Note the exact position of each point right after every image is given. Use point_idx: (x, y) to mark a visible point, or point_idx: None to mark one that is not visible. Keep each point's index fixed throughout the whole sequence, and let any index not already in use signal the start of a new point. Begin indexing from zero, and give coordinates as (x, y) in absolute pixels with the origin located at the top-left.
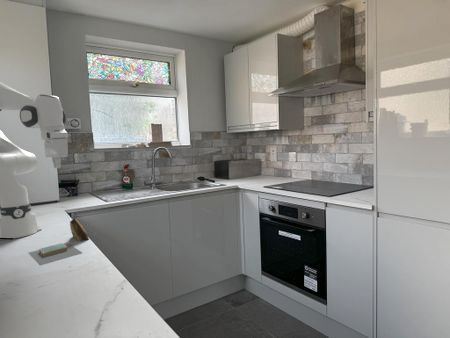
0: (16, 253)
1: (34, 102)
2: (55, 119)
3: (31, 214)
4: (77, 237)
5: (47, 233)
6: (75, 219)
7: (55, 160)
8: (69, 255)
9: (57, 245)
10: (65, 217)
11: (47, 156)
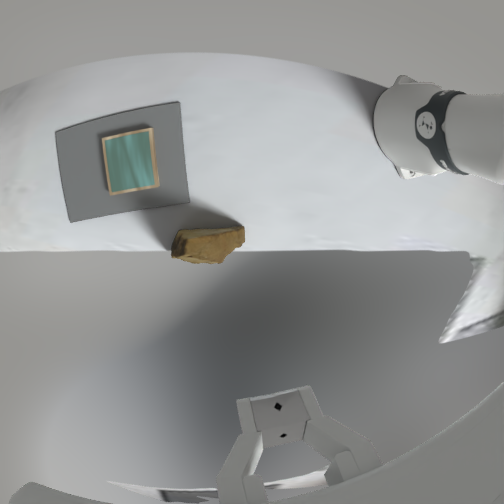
0: (214, 77)
1: None
2: None
3: (429, 164)
4: (179, 232)
5: (355, 178)
6: (189, 257)
7: (223, 473)
8: (72, 194)
9: (142, 174)
10: (447, 247)
11: (476, 414)
